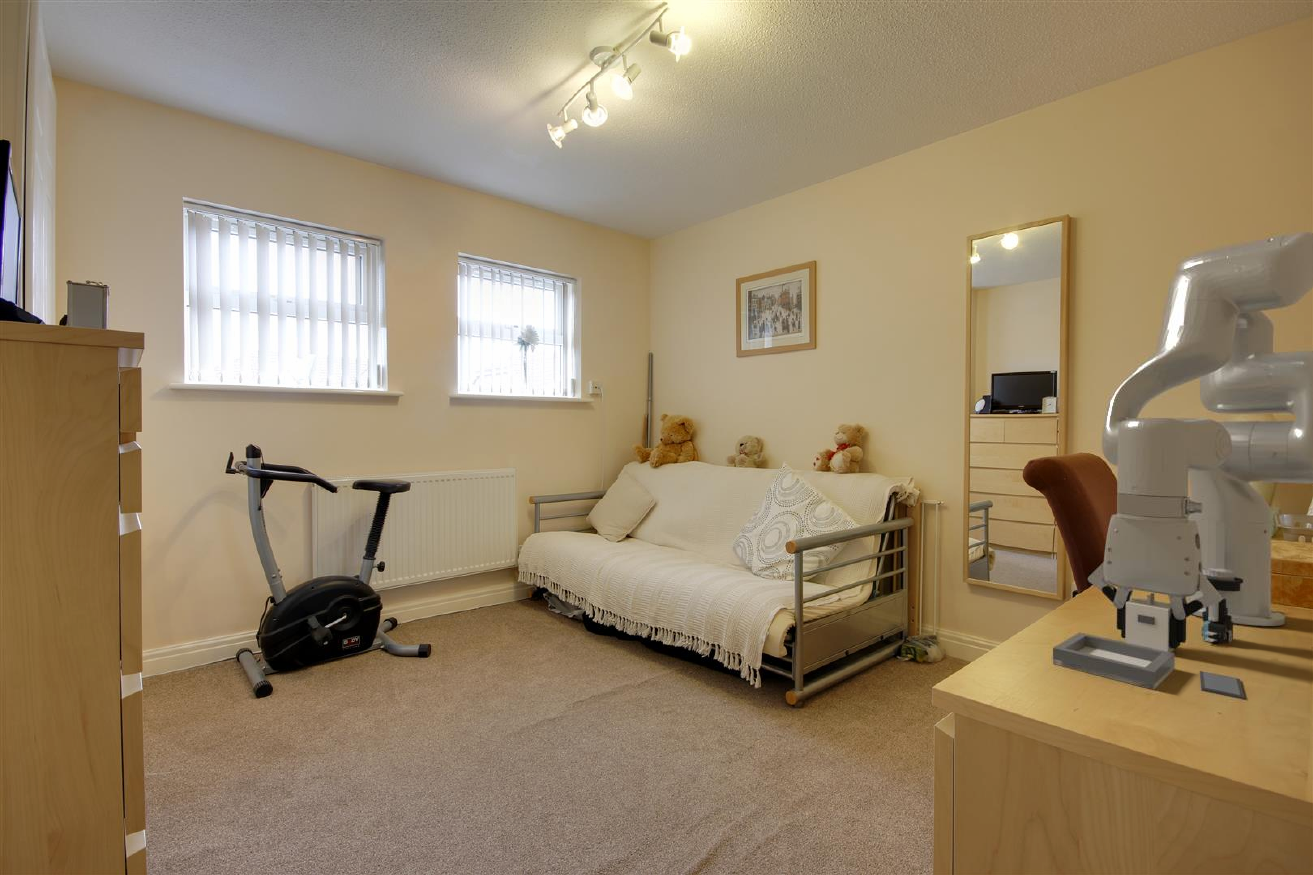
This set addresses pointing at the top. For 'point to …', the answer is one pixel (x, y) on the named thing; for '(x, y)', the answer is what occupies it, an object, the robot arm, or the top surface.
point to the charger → (1148, 623)
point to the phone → (1221, 685)
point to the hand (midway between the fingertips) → (1150, 639)
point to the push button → (1219, 606)
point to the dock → (1115, 660)
